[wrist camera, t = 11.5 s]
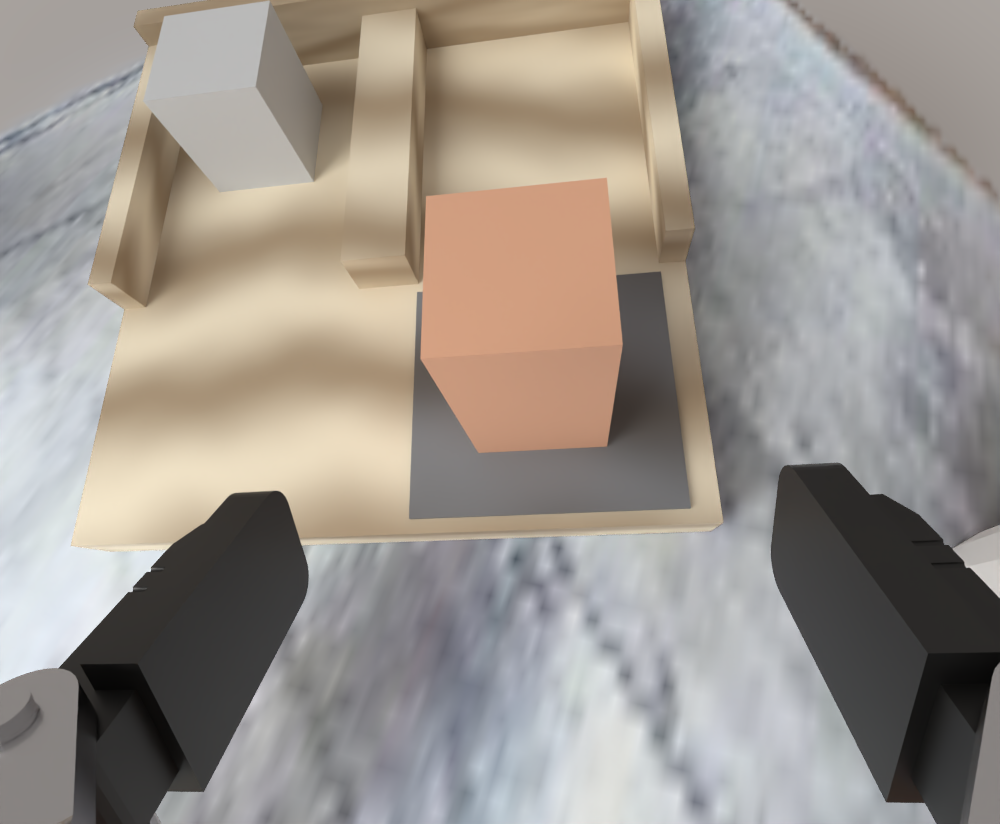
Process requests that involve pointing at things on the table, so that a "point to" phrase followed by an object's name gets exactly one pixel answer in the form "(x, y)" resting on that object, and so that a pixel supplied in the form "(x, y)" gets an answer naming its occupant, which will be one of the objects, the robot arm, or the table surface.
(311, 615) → the table surface
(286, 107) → the grey block
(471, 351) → the terracotta block
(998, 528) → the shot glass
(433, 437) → the wooden divided tray
